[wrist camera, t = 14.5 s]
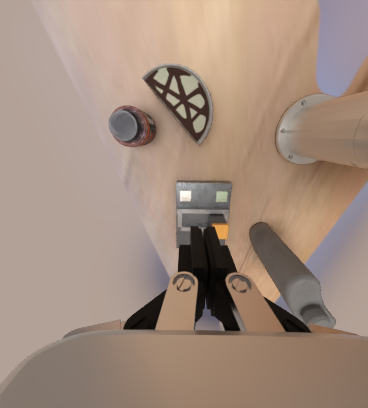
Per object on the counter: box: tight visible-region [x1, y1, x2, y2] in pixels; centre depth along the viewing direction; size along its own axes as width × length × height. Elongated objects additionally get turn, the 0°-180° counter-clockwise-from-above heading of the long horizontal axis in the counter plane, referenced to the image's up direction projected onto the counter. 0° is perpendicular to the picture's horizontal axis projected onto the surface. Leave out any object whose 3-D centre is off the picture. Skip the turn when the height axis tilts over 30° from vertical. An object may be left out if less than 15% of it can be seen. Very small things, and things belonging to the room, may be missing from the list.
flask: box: [250, 223, 336, 328], centre depth 35 cm, size 15×6×20 cm, turn 32°
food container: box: [142, 64, 213, 146], centre depth 28 cm, size 12×6×10 cm, turn 43°
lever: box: [208, 214, 229, 239], centre depth 37 cm, size 3×3×6 cm
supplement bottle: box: [109, 105, 156, 147], centre depth 29 cm, size 6×6×11 cm
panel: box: [176, 181, 232, 248], centre depth 40 cm, size 12×17×3 cm
